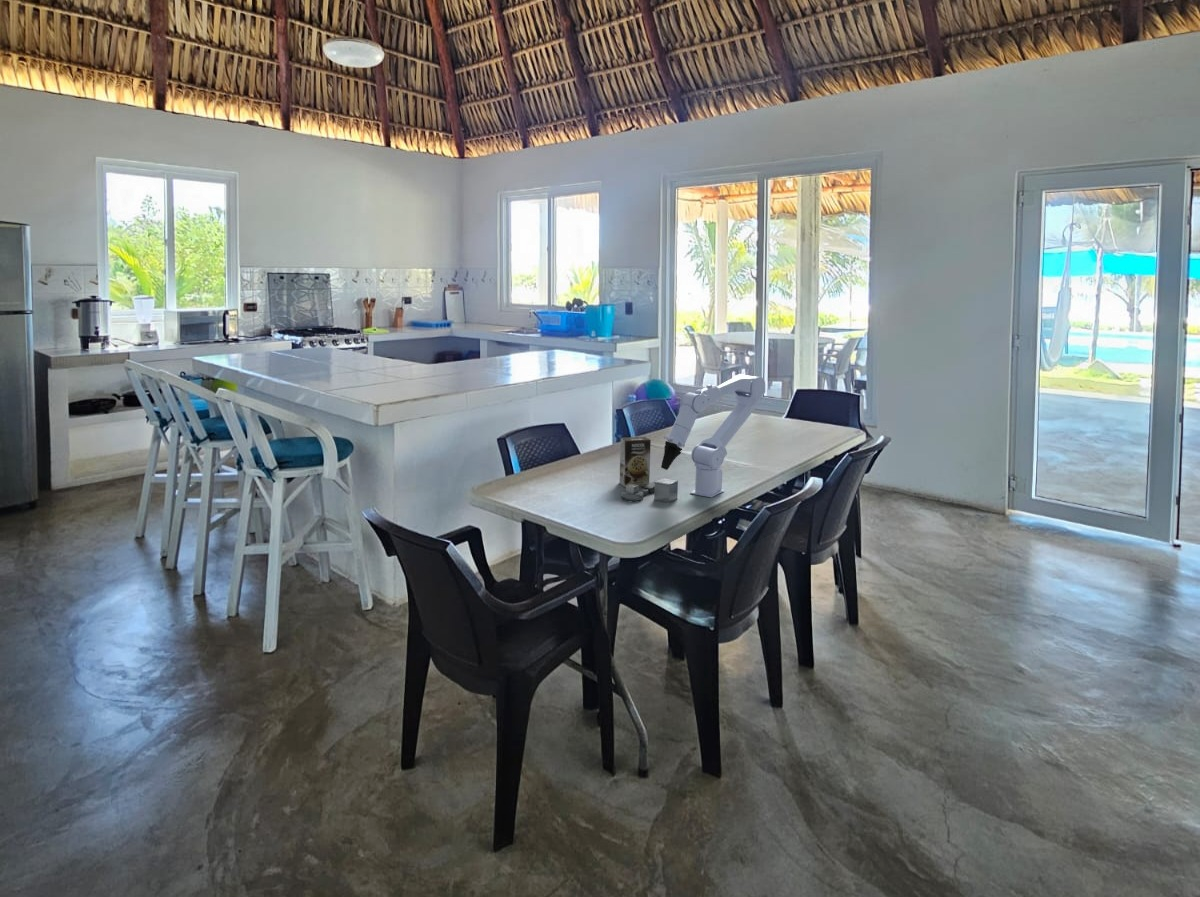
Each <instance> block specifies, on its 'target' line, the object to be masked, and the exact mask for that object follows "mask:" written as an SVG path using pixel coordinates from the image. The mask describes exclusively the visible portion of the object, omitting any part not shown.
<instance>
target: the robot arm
mask: <svg viewBox="0 0 1200 897" xmlns="http://www.w3.org/2000/svg"><path fill="white" fill-rule="evenodd" d="M730 393H734V396H735V401H736V402H737V404H736V406H735V407H734V408H733V410H732V411H731V412H730V413H729V414H728V416H727V417H726V418H725V420H724V421H723V422H722V423H721V425H720V426H718V429H717V430H715V432H714V433H713V435H711V437H708V438H706V439H703V440H702V441H701V442H700V443H698V444H697V445H695V446H693V449H692V451H691V460H692V462H693V463H694V466H695V485H694V486H695V487H694V489H693V490H691V491H690V492H689V494H692V495H695V496H696V495H697V496H702V497H706V498H714V497H715V496H717V495H719V494H721V493H723V492H724V491H725V489H723V471H722V469H721V466H722V465H723V463H724V460H725V458H726V456H727V455H728V451H727V449H726V447H727V445H728V444H729V443H730V441H731V440H732V439H733V437H734V436H735V435H736V434H737V432H738V431H739V430H740V429H741V428H742V426H743V425H744V424H745V422H746V421H748V419H749V417H750V416H751V415H752V414H753V412H755V409H756V408H757V404H758V402H759V401H760V400H761V398H762V397H764V394H765V393H766V381H765V378H763V377H762V376H754V375H747V374H742V373H739V374H736V375H733V376H732V378H730V379H728V380H726V381H725V382H722V383H720V384H719V385H715V384H711V383H710V384H706V387H703V388H700V389H696V390H695V392H686V393H685V394H684V395H683V396H681V397H680V401H679V404H680V406H679V408H678V414H677V416H676V418H675V421H674V422H673V425H672V427H671V429H670V431H669V434H668V435H664V436H663V439H665V443H664V444H665V445H664V452H663V457H662V461H661V464H660V468H661V469H664V470H666V471H668V469H669V468H670V466H671V465H672V464H673V463H674V461H675V460H676V458H677V457H678V456H680V455H681V453H682V451H683V448H685V446H686V443H687V441H688V440H687V439H688V438H689V436H690V433H691V431H692V429H693V426H694V424H695V421H696V420H697V417H698V415H699V413H703V412H704V411H706V408H707V407H708V406H711V405H713V404H715V403H717V402H719V401H720V400H721V398H722V396H726V395H728V394H730Z"/></svg>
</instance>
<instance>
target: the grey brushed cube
mask: <svg viewBox="0 0 1200 897" xmlns="http://www.w3.org/2000/svg"><path fill="white" fill-rule="evenodd" d="M654 482H655V489H654V493H653V495H654V497H653V499H654V500H655V501H658V502H665V503H671V502H673V501H676V500H678V492H679V491H678V489H679V484H678V483H679V480H676V479H675V480H674V479H670V478H665V477H663V478H661V479H658V480H655V481H654Z"/></svg>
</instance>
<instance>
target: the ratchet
mask: <svg viewBox="0 0 1200 897" xmlns="http://www.w3.org/2000/svg"><path fill="white" fill-rule="evenodd" d="M654 489H655V481H652V482H649V484H647V485H644V486H639V485H635V484H629V485H626V487H625V490H622V491H621V495H620V496H621V501H624V502H628V501H632V502H631V503H637V502H636V501H638V502H641V500H642V501H643V500H644V497H645V496H648V495H651V494H654Z"/></svg>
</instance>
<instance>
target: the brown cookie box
mask: <svg viewBox="0 0 1200 897" xmlns="http://www.w3.org/2000/svg"><path fill="white" fill-rule="evenodd" d="M651 441H652V440H651V439H650V438H648V437H647V436H632V437H631V436H630V437H629V436H628V437H627V436H626V437H620V456H619V458H620V460H619V484H621V485H622V486H623V487H624V488H626V485H629V484H635V485H639V487H642V486H644V485H647V484H649V483H650V477H651V476H650V474H651V472H650V471H651V468H650V467H651V443H652V442H651Z"/></svg>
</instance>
